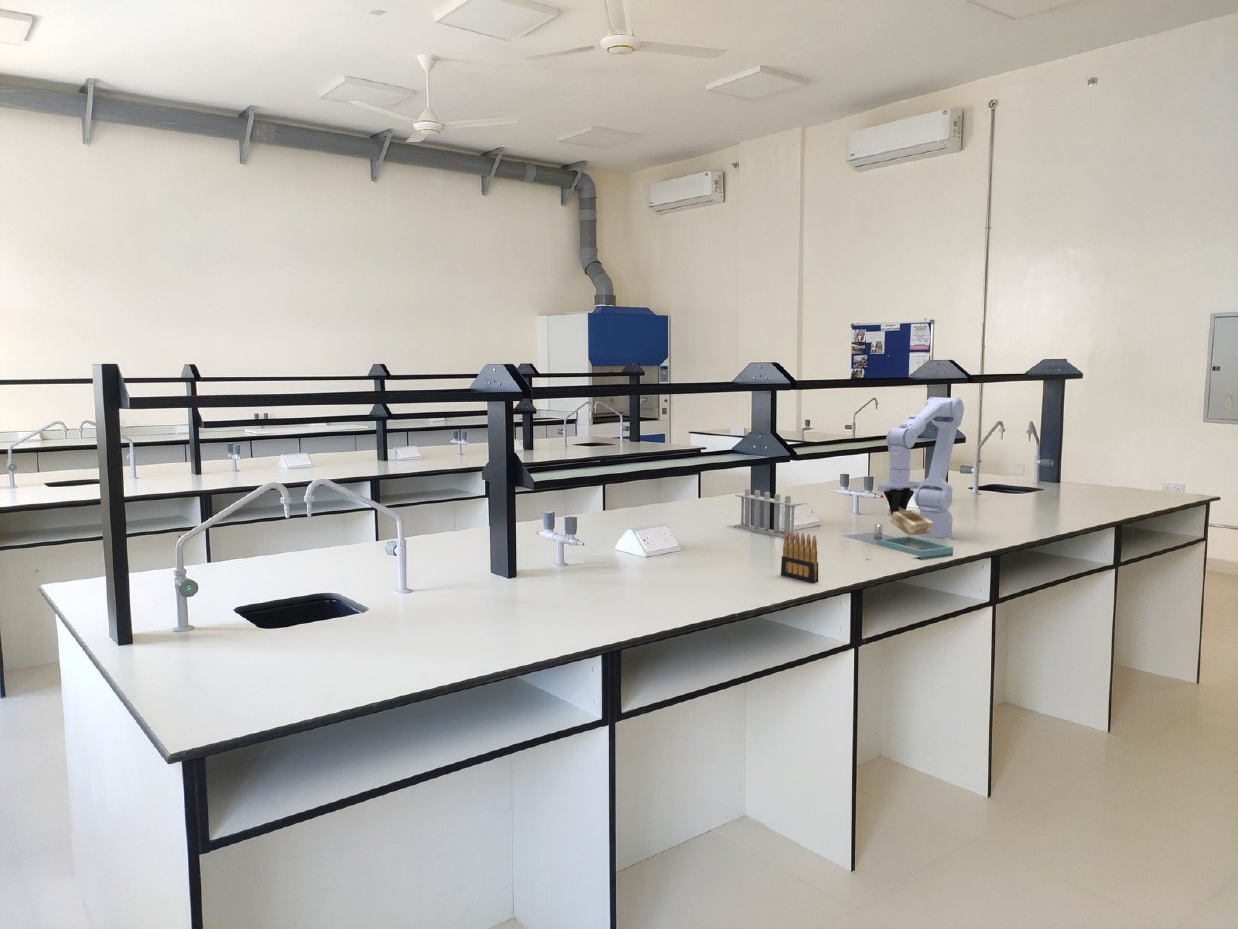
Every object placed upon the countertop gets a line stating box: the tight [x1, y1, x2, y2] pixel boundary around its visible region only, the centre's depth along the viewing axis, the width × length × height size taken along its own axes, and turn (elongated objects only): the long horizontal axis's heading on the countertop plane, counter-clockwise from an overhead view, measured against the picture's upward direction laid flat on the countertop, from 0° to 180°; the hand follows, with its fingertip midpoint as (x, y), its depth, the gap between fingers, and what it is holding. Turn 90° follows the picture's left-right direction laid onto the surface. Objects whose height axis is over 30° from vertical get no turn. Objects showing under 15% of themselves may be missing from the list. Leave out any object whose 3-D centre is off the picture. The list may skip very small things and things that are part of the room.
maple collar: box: [887, 506, 933, 537], centre depth 247 cm, size 12×8×4 cm, turn 26°
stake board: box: [843, 523, 897, 545], centre depth 259 cm, size 14×13×5 cm
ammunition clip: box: [780, 530, 819, 584], centre depth 214 cm, size 11×2×12 cm, turn 39°
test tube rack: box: [734, 488, 802, 540], centre depth 272 cm, size 25×4×13 cm, turn 36°
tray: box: [877, 535, 954, 561], centre depth 244 cm, size 12×17×2 cm
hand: (897, 514), depth 250 cm, fingers closed on maple collar, 2 cm apart
